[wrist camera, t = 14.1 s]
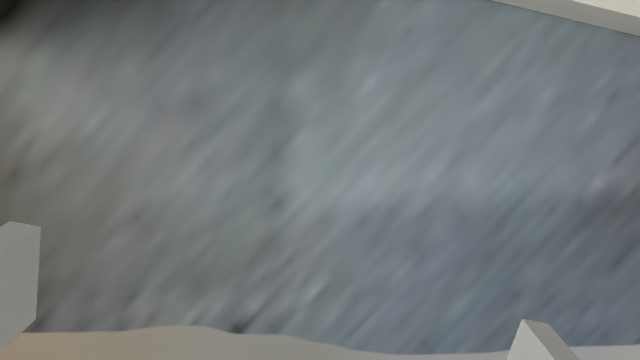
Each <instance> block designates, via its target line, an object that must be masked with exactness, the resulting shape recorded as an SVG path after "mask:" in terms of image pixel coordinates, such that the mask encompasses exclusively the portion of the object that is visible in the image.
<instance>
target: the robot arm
mask: <svg viewBox="0 0 640 360" xmlns="http://www.w3.org/2000/svg"><path fill="white" fill-rule="evenodd" d="M17 1H18V0H0V18H1V17H2V16H3V15H4V14H6V13H7V12H8V11H9V10H10V9H11V8H12V7H13V6H14V5H15V4H16V3H17ZM40 234H41V227H39V226H33V225H28V224H23V223H18V222H12V221H10V222H8V223H6V224H4V225H2V226H1V227H0V353H1V352H2V351H3V350H4V349H5V348H6V347H7V346H8V345H9V344H10V343H11V342H12V341H13V340H14V339H15V338H16V337H17V336H18V335H20V334H21V333H22V332H23V331H24V330H25V329H26V328H27V327H28V326H29V325H30V324H31V323H32V322H33V321H34V320H35V319H36V303H37V286H38V269H39V252H40ZM506 360H579V358H578V357H577V356H576V355H575V354H574V353H573V352H572V350H571V349H570V348H569V347H568V346H567V345H566V344H565V343H564V341H563V340H562V339H561V338H560V337H559V336H558V335H557V333H556V332H555V331H554V330H553V329H552V328H551V327H550V325H549V324H547V323H542V322H536V321H531V320H526V319H522V321H521V323H520V326H519V328H518V331H517V333H516V336H515V339H514V341H513V344H512V346H511V349H510V352H509V354H508V357H507V359H506Z"/></svg>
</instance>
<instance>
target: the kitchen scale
mask: <svg viewBox="0 0 640 360" xmlns="http://www.w3.org/2000/svg"><path fill="white" fill-rule="evenodd" d="M493 1H497V2H501V3H505V4H509V5H513V6H517V7H521V8H525V9H529V10H534V11H538V12H542V13H546V14H550V15H554V16H558V17H562V18H566V19H570V20H574V21H578V22H583V23H587V24H591V25H595V26H599V27H603V28H607V29H611V30H615V31H619V32H623V33H628V34H632V35H636V36H640V0H493Z"/></svg>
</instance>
